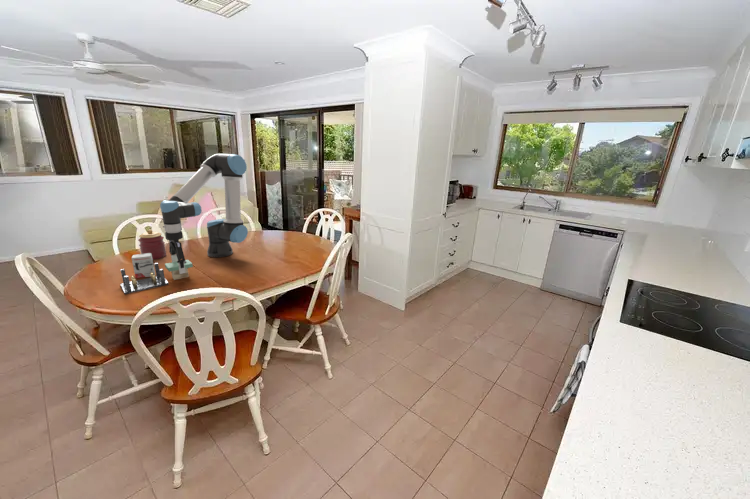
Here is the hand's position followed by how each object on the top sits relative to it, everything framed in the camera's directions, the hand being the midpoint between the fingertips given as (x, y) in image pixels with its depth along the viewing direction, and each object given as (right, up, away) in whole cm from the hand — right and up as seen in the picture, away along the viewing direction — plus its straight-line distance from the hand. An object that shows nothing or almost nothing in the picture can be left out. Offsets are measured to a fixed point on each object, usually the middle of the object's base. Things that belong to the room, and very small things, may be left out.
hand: (179, 269), depth 166 cm
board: (0, +1, 0) cm, 1 cm away
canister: (-34, +6, +30) cm, 46 cm away
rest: (0, -4, +2) cm, 5 cm away
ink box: (-19, -4, +2) cm, 20 cm away
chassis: (-11, -7, -9) cm, 16 cm away
